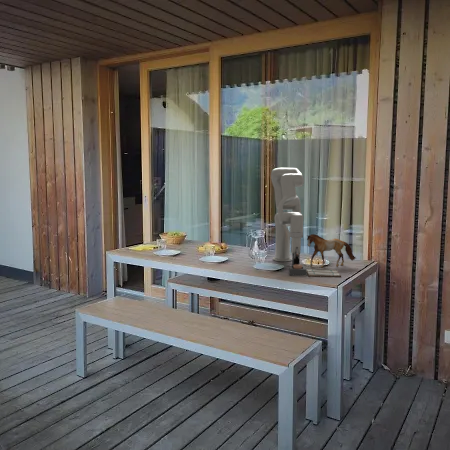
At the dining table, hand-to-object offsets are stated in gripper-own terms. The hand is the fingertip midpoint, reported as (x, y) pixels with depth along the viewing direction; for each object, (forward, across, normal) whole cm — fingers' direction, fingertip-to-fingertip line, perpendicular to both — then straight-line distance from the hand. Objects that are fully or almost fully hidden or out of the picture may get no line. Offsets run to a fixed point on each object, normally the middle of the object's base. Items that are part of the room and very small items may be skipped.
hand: (295, 263), depth 279 cm
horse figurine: (+4, -6, +22) cm, 23 cm away
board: (+3, +10, +14) cm, 18 cm away
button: (+1, +11, 0) cm, 11 cm away
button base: (+3, +11, 0) cm, 12 cm away
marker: (+3, 0, 0) cm, 3 cm away
